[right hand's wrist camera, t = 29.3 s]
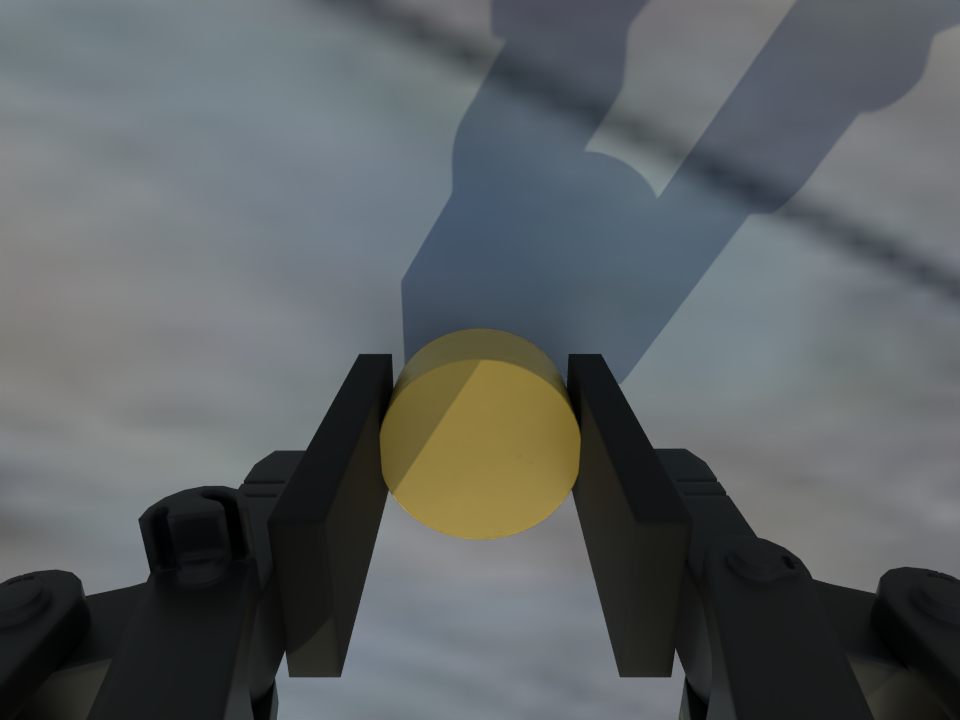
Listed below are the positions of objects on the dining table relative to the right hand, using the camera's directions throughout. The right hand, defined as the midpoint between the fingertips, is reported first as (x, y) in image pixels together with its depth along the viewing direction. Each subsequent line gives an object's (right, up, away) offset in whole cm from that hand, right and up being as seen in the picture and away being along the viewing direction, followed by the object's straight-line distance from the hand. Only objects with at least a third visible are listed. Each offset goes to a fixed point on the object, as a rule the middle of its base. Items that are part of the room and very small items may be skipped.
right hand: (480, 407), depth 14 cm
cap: (0, -1, -2) cm, 2 cm away
